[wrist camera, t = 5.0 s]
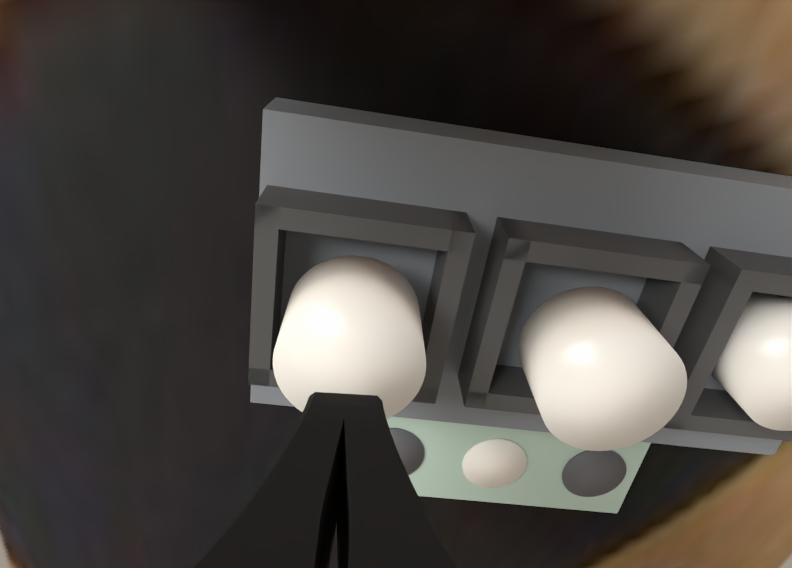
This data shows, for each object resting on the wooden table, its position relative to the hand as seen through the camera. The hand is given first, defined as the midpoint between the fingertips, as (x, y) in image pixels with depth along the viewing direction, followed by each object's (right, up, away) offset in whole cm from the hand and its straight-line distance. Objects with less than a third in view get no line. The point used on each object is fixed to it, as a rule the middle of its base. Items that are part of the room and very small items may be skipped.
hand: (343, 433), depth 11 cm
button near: (0, +2, +4) cm, 5 cm away
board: (+6, +3, +8) cm, 11 cm away
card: (+5, -4, +12) cm, 13 cm away
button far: (+13, +1, +7) cm, 14 cm away
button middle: (+6, +1, +5) cm, 8 cm away
